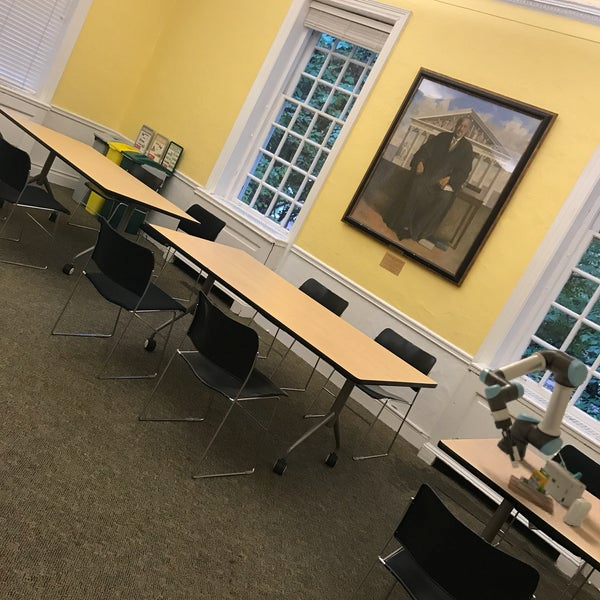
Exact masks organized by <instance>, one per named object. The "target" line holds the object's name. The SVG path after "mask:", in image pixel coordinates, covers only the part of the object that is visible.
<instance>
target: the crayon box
mask: <svg viewBox="0 0 600 600" xmlns="http://www.w3.org/2000/svg"><path fill="white" fill-rule="evenodd" d="M543 471H544V472H546V471H545V470H544V469H543V467H542V466H541V467H540V468H539V469H537V468H535V469H534V470H533V472H532V473H531V475H530V476H529V478H528V482H527V483H526V484H527V485H529V486H530V487H532V488H534V489H535V490H537V491H539V492H540V493H541V492H542V490H543V489H544V487H545V485H546V483H547V481H548V480H549V478H550V475H549V474H548V473H547V472H546V474H547V475H545V474H544V473H543Z"/></svg>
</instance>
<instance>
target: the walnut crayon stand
mask: <svg viewBox="0 0 600 600" xmlns="http://www.w3.org/2000/svg"><path fill="white" fill-rule="evenodd" d="M528 480H529V478H527V477H525V476H523V475H521V476H520V478H519V477H517V476H516V475H513V474H511V475H510V477H509V479H508V484H507V485H508V486H507V489H509V490H511V491H512V492H514V493H515V494H517V495H519V496H521V497H522V498H524V499H525V500H528V502H531V503H532V504H534V505H536V506H537V507H538V508H541V510H544V511H546V512H547V513H548V514H550V515H552V514H553V512H554V506H553V503H554V501H553V499H554V498H553V497H550V496H549V495H550V494H549V492H548V491H547V490H545V489H544V488H543V490H542V492H541V493H540V492H539V491H537V490H535V489H534V488H532V487H530V486H529V485H527V484H526V483H527V482H528Z"/></svg>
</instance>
